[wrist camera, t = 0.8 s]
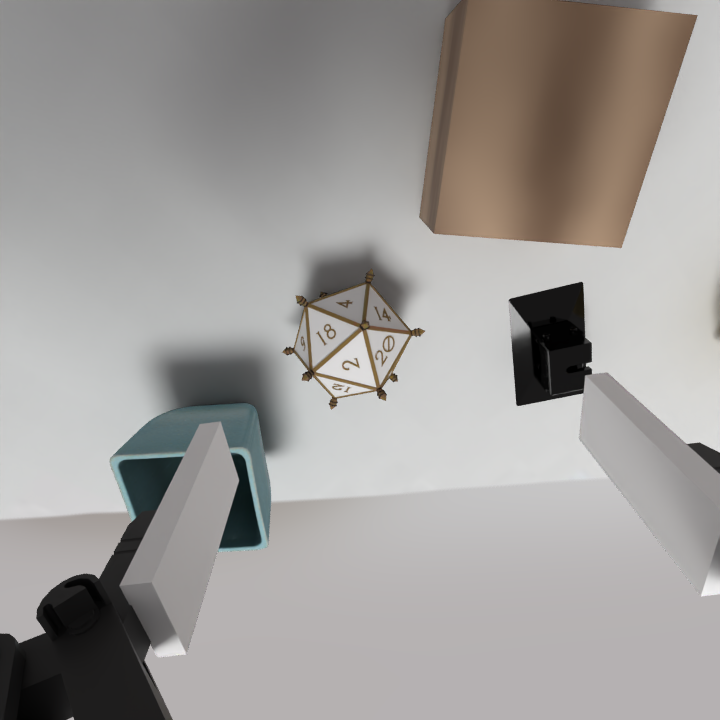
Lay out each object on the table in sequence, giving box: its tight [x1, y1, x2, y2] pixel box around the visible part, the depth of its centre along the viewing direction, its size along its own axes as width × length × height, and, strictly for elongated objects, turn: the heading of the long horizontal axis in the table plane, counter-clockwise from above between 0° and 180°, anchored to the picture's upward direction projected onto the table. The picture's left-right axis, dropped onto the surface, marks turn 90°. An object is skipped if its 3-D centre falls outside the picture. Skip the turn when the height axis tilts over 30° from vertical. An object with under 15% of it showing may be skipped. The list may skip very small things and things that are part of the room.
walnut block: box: [419, 0, 698, 248], centre depth 27 cm, size 11×11×6 cm
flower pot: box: [110, 403, 271, 552], centre depth 34 cm, size 9×9×9 cm
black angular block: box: [509, 282, 592, 406], centre depth 34 cm, size 12×7×5 cm, turn 13°
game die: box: [283, 269, 425, 410], centre depth 31 cm, size 9×8×10 cm
